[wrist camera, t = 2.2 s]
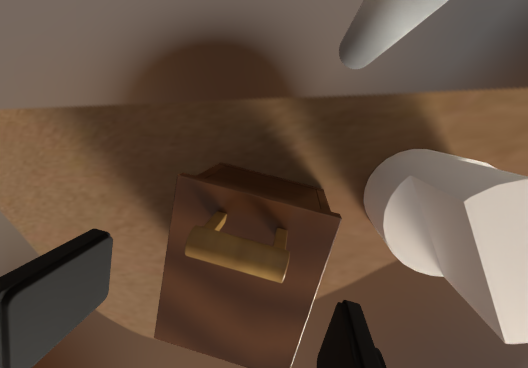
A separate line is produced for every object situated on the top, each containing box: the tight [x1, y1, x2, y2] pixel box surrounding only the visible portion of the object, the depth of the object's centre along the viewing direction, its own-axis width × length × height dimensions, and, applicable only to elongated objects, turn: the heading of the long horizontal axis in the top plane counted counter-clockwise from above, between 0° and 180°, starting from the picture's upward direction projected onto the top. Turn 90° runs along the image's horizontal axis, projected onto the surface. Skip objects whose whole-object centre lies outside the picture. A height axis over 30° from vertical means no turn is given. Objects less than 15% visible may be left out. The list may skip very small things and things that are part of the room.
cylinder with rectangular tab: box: [363, 149, 528, 344], centre depth 18 cm, size 9×9×12 cm
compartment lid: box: [154, 173, 342, 368], centre depth 16 cm, size 13×11×5 cm
